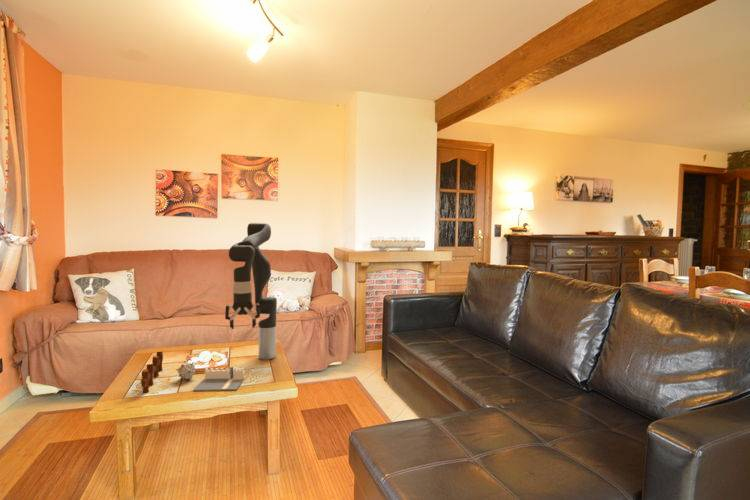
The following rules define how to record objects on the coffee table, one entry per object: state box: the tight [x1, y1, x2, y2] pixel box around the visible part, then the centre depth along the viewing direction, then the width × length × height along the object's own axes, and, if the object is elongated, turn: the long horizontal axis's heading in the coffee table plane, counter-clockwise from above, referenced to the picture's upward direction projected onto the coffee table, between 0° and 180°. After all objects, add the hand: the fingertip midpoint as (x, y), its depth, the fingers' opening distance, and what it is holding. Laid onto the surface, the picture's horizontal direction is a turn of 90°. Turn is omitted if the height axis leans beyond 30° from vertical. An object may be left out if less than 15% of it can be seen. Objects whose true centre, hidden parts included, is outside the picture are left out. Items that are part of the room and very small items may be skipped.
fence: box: [140, 351, 164, 394], centre depth 181 cm, size 34×3×10 cm, turn 17°
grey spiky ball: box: [175, 360, 199, 382], centre depth 182 cm, size 9×8×10 cm
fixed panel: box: [233, 367, 245, 380], centre depth 182 cm, size 4×1×5 cm, turn 94°
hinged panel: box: [204, 366, 234, 379], centre depth 182 cm, size 13×1×5 cm, turn 94°
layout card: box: [192, 377, 245, 392], centre depth 176 cm, size 13×18×1 cm
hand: (243, 327), depth 171 cm, fingers open, 8 cm apart
